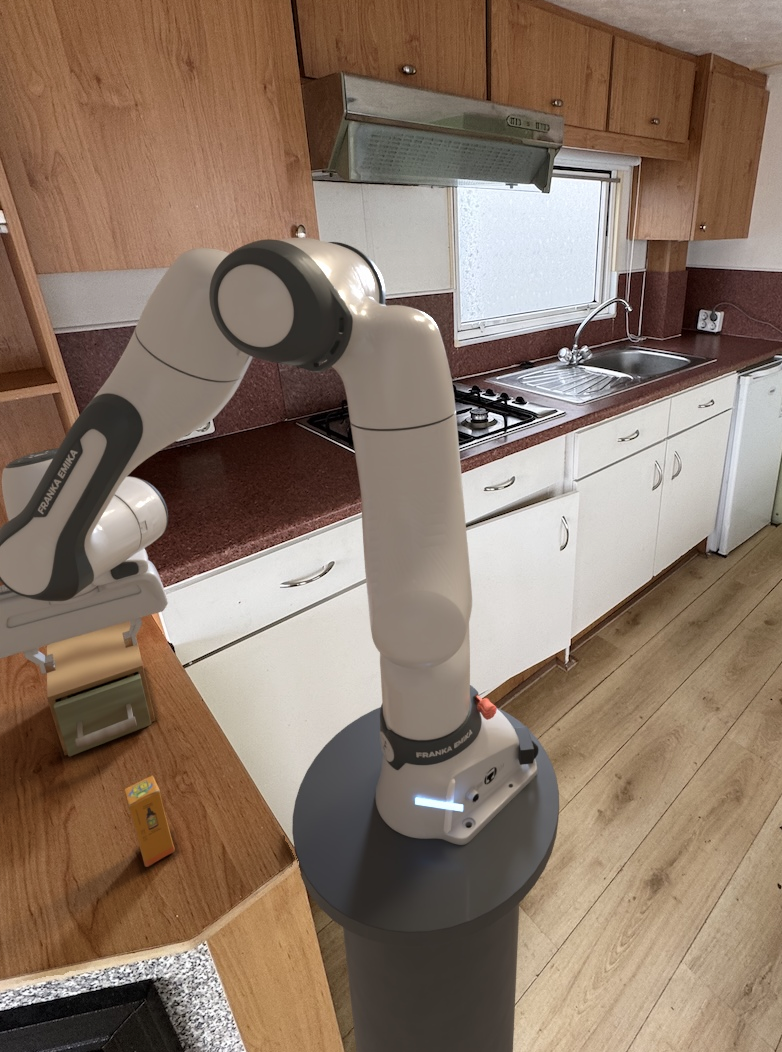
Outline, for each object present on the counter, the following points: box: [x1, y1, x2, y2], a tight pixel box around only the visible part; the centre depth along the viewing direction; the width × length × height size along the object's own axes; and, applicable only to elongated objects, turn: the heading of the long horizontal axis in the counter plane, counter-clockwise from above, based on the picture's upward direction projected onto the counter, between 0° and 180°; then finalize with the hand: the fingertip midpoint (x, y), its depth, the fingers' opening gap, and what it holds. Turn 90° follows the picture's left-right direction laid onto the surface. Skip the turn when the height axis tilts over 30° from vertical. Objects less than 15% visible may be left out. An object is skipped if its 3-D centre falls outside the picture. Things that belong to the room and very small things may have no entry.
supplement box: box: [124, 775, 176, 868], centre depth 69 cm, size 3×3×10 cm
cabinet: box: [46, 621, 156, 756], centre depth 91 cm, size 15×12×11 cm
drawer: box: [54, 673, 152, 757], centre depth 88 cm, size 18×10×9 cm, turn 37°
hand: (91, 656), depth 80 cm, fingers open, 8 cm apart
